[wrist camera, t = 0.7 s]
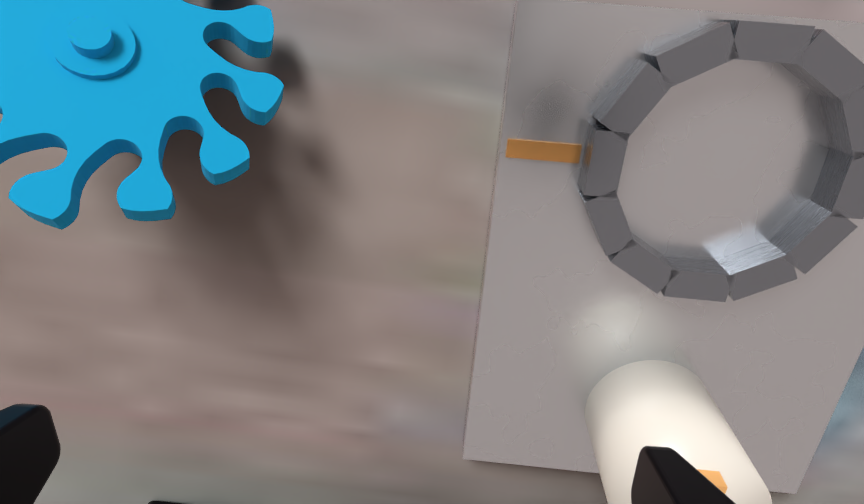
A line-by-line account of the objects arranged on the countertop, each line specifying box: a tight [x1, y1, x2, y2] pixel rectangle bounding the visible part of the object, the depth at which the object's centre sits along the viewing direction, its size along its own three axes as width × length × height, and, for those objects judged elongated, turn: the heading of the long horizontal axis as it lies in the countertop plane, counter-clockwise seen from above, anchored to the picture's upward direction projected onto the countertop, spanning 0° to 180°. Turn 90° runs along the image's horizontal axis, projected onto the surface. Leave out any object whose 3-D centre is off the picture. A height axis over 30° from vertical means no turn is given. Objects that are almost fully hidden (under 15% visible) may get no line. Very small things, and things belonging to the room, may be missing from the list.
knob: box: [585, 360, 772, 504], centre depth 19 cm, size 5×5×6 cm
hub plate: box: [463, 0, 864, 494], centre depth 20 cm, size 18×14×2 cm
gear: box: [0, 0, 284, 229], centre depth 17 cm, size 11×6×10 cm
